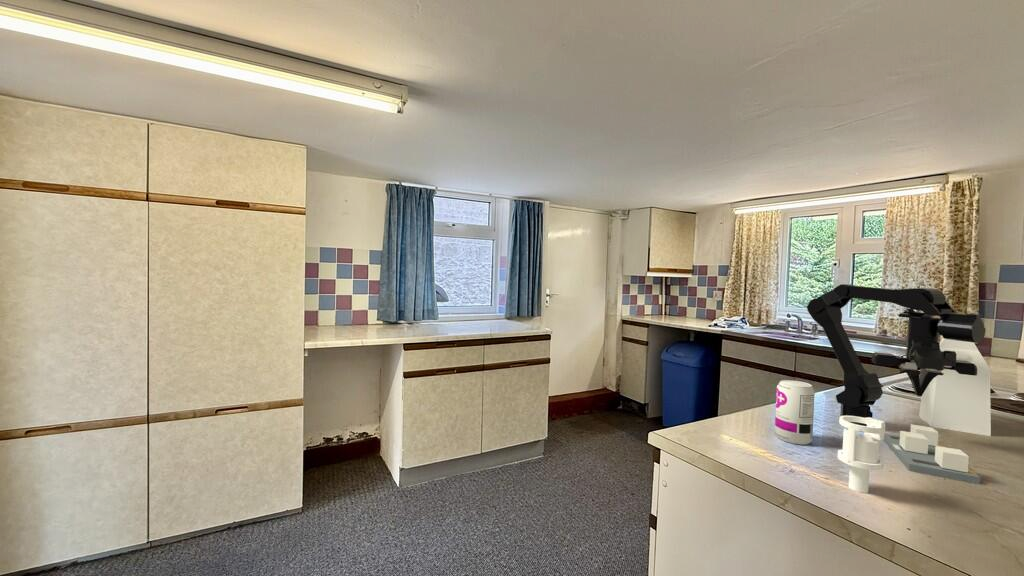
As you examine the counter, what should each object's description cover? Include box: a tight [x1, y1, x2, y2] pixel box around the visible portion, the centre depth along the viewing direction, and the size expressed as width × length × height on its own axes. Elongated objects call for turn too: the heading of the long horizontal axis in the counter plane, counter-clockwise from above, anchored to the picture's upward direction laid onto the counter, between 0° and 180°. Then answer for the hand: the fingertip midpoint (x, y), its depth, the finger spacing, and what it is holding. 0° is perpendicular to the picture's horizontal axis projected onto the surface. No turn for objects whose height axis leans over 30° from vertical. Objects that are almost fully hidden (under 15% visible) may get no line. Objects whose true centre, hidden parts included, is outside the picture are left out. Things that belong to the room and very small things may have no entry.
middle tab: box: [899, 430, 928, 454], centre depth 99 cm, size 4×4×4 cm
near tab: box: [935, 446, 970, 472], centre depth 90 cm, size 4×4×4 cm
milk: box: [918, 337, 992, 437], centre depth 122 cm, size 12×12×26 cm
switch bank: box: [882, 432, 981, 485], centre depth 98 cm, size 11×22×2 cm, turn 150°
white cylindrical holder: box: [837, 416, 886, 494], centre depth 82 cm, size 7×7×15 cm
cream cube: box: [910, 424, 939, 446], centre depth 104 cm, size 4×4×4 cm
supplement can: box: [774, 379, 816, 446], centre depth 108 cm, size 8×8×15 cm
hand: (918, 395), depth 106 cm, fingers closed
